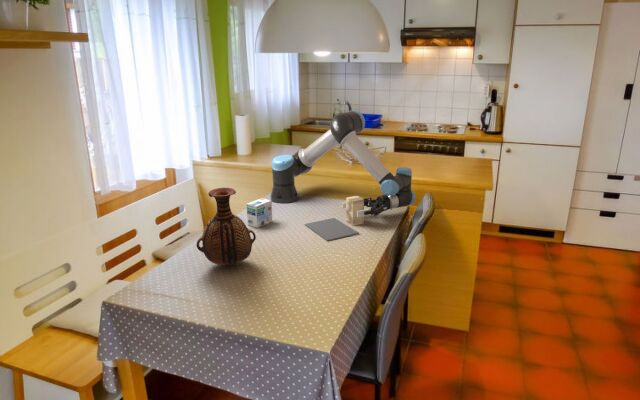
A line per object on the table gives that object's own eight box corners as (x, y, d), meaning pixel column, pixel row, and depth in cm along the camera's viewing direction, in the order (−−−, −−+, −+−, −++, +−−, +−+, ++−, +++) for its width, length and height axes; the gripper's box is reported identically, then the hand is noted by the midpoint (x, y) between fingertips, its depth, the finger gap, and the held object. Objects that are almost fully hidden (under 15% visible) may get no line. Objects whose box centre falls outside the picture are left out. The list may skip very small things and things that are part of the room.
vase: (258, 254, 189) (254, 183, 180) (254, 275, 172) (248, 197, 163) (205, 256, 189) (197, 184, 179) (195, 277, 172) (186, 199, 162)
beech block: (346, 221, 223) (346, 197, 219) (356, 219, 225) (356, 195, 221) (352, 225, 218) (352, 201, 214) (363, 223, 220) (363, 199, 216)
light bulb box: (257, 228, 217) (256, 206, 213) (247, 225, 221) (245, 203, 217) (273, 221, 225) (272, 200, 221) (263, 218, 229) (261, 197, 225)
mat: (304, 225, 219) (304, 223, 219) (334, 218, 226) (334, 217, 226) (327, 241, 201) (327, 240, 201) (358, 234, 208) (358, 232, 208)
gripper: (402, 217, 218) (364, 225, 209) (372, 202, 239) (336, 209, 230) (403, 201, 216) (364, 209, 206) (372, 188, 237) (336, 195, 227)
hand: (349, 209), depth 218 cm, fingers open, 13 cm apart
